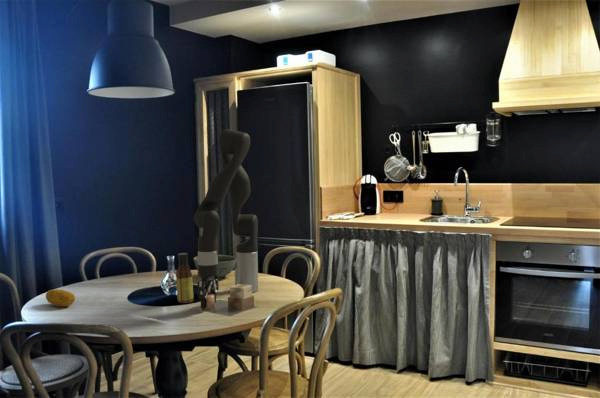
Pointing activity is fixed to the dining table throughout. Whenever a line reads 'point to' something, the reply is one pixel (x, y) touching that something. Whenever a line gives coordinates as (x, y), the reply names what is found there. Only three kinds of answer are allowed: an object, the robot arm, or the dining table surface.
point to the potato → (60, 298)
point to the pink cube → (210, 302)
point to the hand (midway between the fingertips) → (208, 305)
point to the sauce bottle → (184, 280)
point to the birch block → (240, 291)
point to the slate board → (223, 308)
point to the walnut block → (241, 303)
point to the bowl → (222, 265)
